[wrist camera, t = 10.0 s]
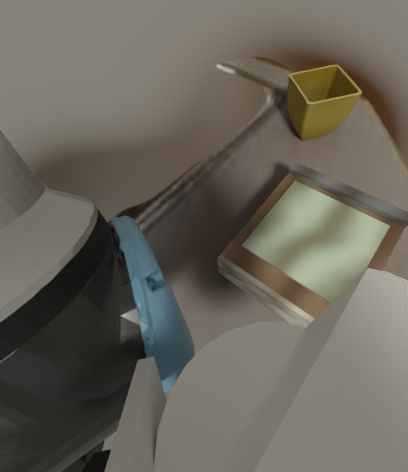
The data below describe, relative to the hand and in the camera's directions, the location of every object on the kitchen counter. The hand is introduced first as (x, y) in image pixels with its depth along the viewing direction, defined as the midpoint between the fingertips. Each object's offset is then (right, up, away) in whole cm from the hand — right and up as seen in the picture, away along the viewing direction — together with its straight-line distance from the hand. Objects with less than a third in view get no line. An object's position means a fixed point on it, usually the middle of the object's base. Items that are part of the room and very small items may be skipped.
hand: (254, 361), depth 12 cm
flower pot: (+18, +26, +37) cm, 49 cm away
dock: (+12, +3, +24) cm, 27 cm away
